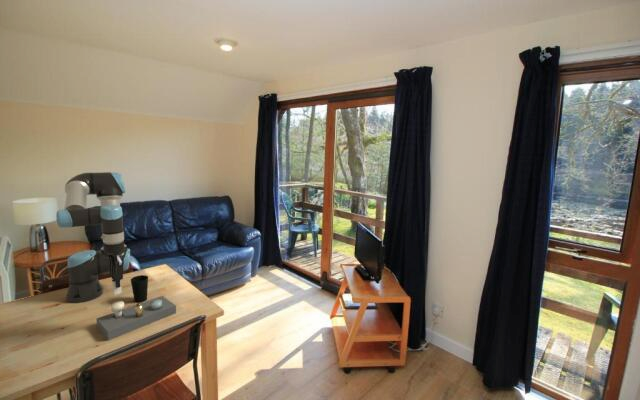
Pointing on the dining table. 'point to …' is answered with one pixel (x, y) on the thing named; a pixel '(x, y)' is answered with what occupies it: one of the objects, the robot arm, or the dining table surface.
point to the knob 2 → (156, 304)
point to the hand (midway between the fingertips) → (117, 293)
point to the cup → (140, 288)
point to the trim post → (138, 310)
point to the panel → (134, 318)
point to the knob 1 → (117, 309)
